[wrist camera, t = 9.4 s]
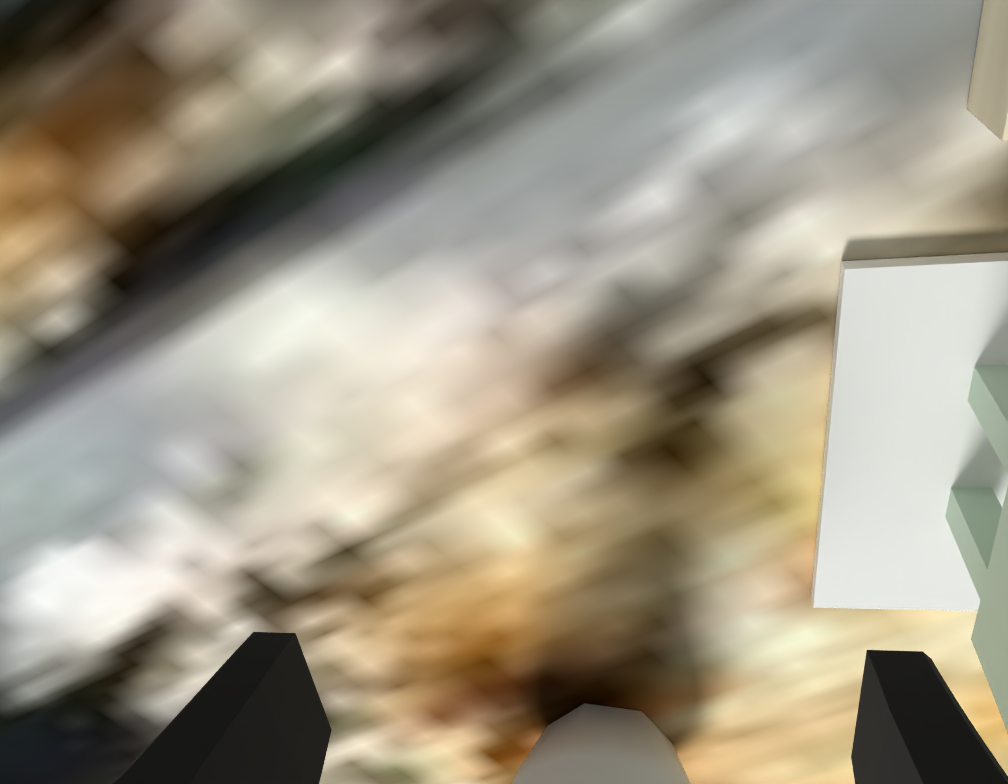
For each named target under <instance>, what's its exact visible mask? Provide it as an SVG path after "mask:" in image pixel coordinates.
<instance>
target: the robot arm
mask: <svg viewBox="0 0 1008 784" xmlns="http://www.w3.org/2000/svg"><path fill="white" fill-rule="evenodd" d="M330 734H331V727H330V725H329V722H328V719H327V717H326V714H325V711H324V709H323V706H322V703H321V701H320V698H319V695H318V693H317V690H316V687H315V685H314V682H313V679H312V676H311V674H310V671H309V668H308V666H307V663H306V660H305V658H304V655H303V652H302V650H301V647H300V644H299V642H298V639H297V636H296V634H295V633H267V632H253V633H252V634H251V635H250V636H249V637H248V638H247V640H246V641H245V642H244V643H243V644H242V645H241V646H240V647H239V648H238V649H237V650H236V651H235V652H234V653H233V655H232V656H231V657H230V658H229V659H228V660H227V661H226V662H225V663H224V664H223V665H222V667H221V668H220V669H219V670H218V671H217V672H216V673H215V674H214V675H213V676H212V678H211V679H210V680H209V681H208V682H207V683H206V684H205V685H204V686H203V688H202V689H201V690H200V691H199V692H198V693H197V694H196V695H195V696H194V697H193V699H192V700H191V701H190V702H189V703H188V704H187V705H186V706H185V707H184V708H183V710H182V711H181V712H180V713H179V714H178V715H177V716H176V717H175V718H174V719H173V720H172V722H171V723H170V724H169V725H168V726H167V727H166V728H165V729H164V730H163V731H162V732H161V733H160V734H159V735H158V737H157V738H156V739H155V740H154V741H153V742H152V743H151V744H150V745H149V746H148V747H147V748H146V749H145V750H144V751H143V752H142V754H141V755H140V756H139V757H138V758H137V759H136V760H135V761H134V762H133V763H132V764H131V765H130V766H129V767H128V768H127V769H126V771H125V772H124V773H123V774H122V775H121V776H120V777H119V778H118V779H117V780H116V781H115V782H114V783H113V784H319V781H320V777H321V773H322V769H323V765H324V760H325V756H326V751H327V747H328V743H329V738H330ZM851 758H852V765H853V771H854V778H855V784H1008V776H1007V775H1006V773H1005V772H1004V770H1003V769H1002V768H1001V766H1000V765H999V763H998V762H997V760H996V759H995V757H994V756H993V754H992V753H991V751H990V750H989V749H988V747H987V746H986V744H985V743H984V741H983V740H982V738H981V737H980V735H979V734H978V732H977V731H976V729H975V728H974V726H973V725H972V723H971V722H970V720H969V719H968V717H967V716H966V714H965V713H964V711H963V709H962V708H961V706H960V705H959V703H958V702H957V700H956V699H955V697H954V695H953V694H952V692H951V691H950V689H949V687H948V686H947V684H946V682H945V681H944V679H943V678H942V676H941V674H940V673H939V671H938V669H937V668H936V666H935V664H934V663H933V661H932V659H931V658H930V657H928V656H927V655H926V654H925V653H924V652H916V651H882V650H867V653H866V660H865V667H864V673H863V680H862V687H861V694H860V701H859V708H858V715H857V721H856V728H855V735H854V742H853V749H852V756H851Z"/></svg>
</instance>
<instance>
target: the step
mask: <svg viewBox="0 0 1008 784" xmlns="http://www.w3.org/2000/svg"><path fill="white" fill-rule="evenodd" d="M967 110H968V111H969V112H970V113H971V114H973V115H974V116H975V117H976V118H977V119H978V120H979V121H980V122H981V123H983V124H984V125H985V126H986V127H987V128H988V129H989V130H990V131H991V132H993V133H994V134H995V135H996V136H997V137H998V138H999V139H1000V140H1001V141H1008V0H984V3H983V9H982V15H981V22H980V28H979V34H978V40H977V47H976V53H975V59H974V66H973V72H972V78H971V85H970V91H969V97H968V103H967Z"/></svg>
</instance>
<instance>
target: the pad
mask: <svg viewBox="0 0 1008 784" xmlns="http://www.w3.org/2000/svg"><path fill="white" fill-rule="evenodd" d="M997 365H1008V252H1005V253H986V254H968V255H949V256H930V257H911V258H893V259H874V260H855V261H841V271H840V282H839V293H838V304H837V315H836V326H835V337H834V348H833V359H832V370H831V381H830V392H829V404H828V415H827V426H826V437H825V448H824V459H823V470H822V481H821V492H820V503H819V514H818V525H817V536H816V547H815V558H814V570H813V581H812V592H811V599H812V604H813V608H858V609H907V610H956V611H978V608H979V604H980V598H979V596H978V593H977V591H976V589H975V586H974V584H973V582H972V579H971V577H970V574H969V572H968V570H967V567H966V565H965V563H964V560H963V558H962V555H961V553H960V551H959V548H958V546H957V544H956V541H955V539H954V536H953V534H952V532H951V529H950V527H949V525H948V522H947V520H946V517H945V516H946V510H947V505H948V500H949V495H950V490H951V488H992V489H993V491H994V493H995V495H996V497H997V499H998V501H999V503H1000V504H1001V506H1002V507H1003V503H1004V499H1005V495H1006V490H1007V486H1008V474H1007V472H1006V470H1005V468H1004V466H1003V465H1002V463H1001V461H1000V459H999V457H998V455H997V454H996V452H995V450H994V448H993V446H992V444H991V443H990V441H989V439H988V437H987V435H986V433H985V432H984V430H983V428H982V426H981V424H980V422H979V421H978V419H977V417H976V415H975V413H974V411H973V410H972V408H971V406H970V404H969V402H968V396H969V391H970V386H971V381H972V375H973V370H974V366H997Z"/></svg>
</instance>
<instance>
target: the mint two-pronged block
mask: <svg viewBox="0 0 1008 784" xmlns="http://www.w3.org/2000/svg"><path fill="white" fill-rule="evenodd" d="M968 402H969V404H970V406H971V408H972V410H973V411H974V413H975V415H976V417H977V419H978V421H979V422H980V424H981V426H982V428H983V430H984V432H985V433H986V435H987V437H988V439H989V441H990V443H991V444H992V446H993V448H994V450H995V452H996V454H997V455H998V457H999V459H1000V461H1001V463H1002V465H1003V466H1004V468H1005V470H1006V472H1007V474H1008V365H997V366H974V370H973V375H972V381H971V386H970V391H969V396H968ZM945 517H946V520H947V522H948V525H949V527H950V529H951V532H952V534H953V536H954V539H955V541H956V544H957V546H958V548H959V551H960V553H961V555H962V558H963V560H964V563H965V565H966V567H967V570H968V572H969V574H970V577H971V579H972V582H973V584H974V586H975V589H976V591H977V593H978V596H979V598H980V604H979V608H978V612H977V617H976V621H975V625H974V629H973V633H972V638H971V640H972V642H973V645H974V647H975V650H976V652H977V655H978V658H979V660H980V663H981V665H982V668H983V670H984V673H985V676H986V678H987V681H988V683H989V686H990V688H991V691H992V694H993V696H994V699H995V701H996V704H997V706H998V709H999V711H1000V714H1001V717H1002V719H1003V722H1004V724H1005V727H1006V729H1007V732H1008V486H1007V490H1006V495H1005V499H1004V503H1003V507H1002V506H1001V504H1000V503H999V501H998V499H997V497H996V495H995V493H994V491H993V489H992V488H951V490H950V495H949V500H948V505H947V510H946V516H945Z"/></svg>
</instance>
